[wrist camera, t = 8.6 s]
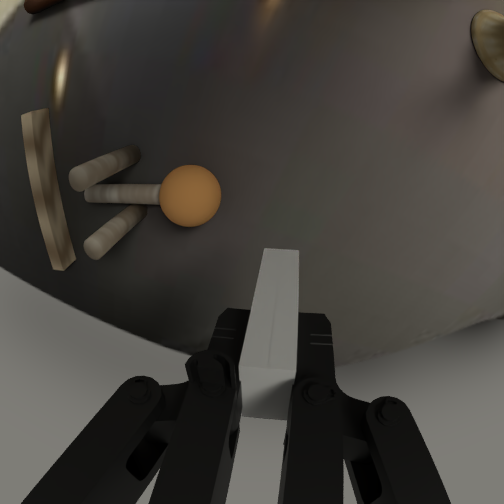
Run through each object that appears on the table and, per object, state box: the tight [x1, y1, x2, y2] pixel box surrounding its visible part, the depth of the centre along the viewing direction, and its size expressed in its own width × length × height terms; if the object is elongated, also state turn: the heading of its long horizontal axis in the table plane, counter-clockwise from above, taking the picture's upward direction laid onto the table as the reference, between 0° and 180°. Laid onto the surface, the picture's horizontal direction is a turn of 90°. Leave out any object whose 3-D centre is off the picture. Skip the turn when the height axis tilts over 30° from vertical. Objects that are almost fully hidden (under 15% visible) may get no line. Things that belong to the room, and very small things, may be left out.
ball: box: [159, 165, 221, 227], centre depth 26 cm, size 6×6×6 cm
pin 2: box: [84, 204, 147, 260], centre depth 26 cm, size 2×2×9 cm
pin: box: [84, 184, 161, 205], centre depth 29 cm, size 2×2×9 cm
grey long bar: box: [21, 108, 76, 271], centre depth 29 cm, size 20×2×3 cm, turn 0°
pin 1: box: [69, 145, 141, 192], centre depth 24 cm, size 2×2×9 cm
